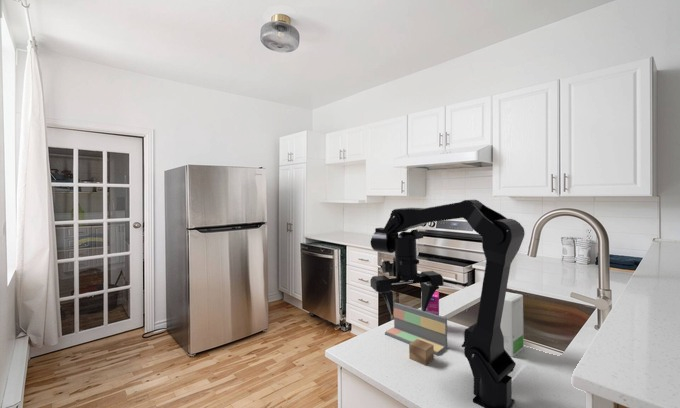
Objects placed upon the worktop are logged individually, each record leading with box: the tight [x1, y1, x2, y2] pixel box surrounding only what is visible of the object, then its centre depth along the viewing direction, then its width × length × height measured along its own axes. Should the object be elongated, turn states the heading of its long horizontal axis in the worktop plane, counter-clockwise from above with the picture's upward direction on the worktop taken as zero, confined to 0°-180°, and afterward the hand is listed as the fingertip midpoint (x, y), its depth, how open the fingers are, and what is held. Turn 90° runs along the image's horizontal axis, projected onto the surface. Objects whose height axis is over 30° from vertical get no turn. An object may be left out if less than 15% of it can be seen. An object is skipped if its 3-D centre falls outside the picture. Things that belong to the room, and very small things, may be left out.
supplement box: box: [420, 290, 440, 316], centre depth 103 cm, size 6×6×12 cm
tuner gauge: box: [384, 302, 448, 356], centre depth 93 cm, size 18×6×9 cm, turn 44°
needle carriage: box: [408, 339, 435, 366], centre depth 84 cm, size 5×6×4 cm
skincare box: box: [500, 291, 525, 358], centre depth 88 cm, size 8×7×16 cm
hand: (407, 312), depth 83 cm, fingers open, 9 cm apart
